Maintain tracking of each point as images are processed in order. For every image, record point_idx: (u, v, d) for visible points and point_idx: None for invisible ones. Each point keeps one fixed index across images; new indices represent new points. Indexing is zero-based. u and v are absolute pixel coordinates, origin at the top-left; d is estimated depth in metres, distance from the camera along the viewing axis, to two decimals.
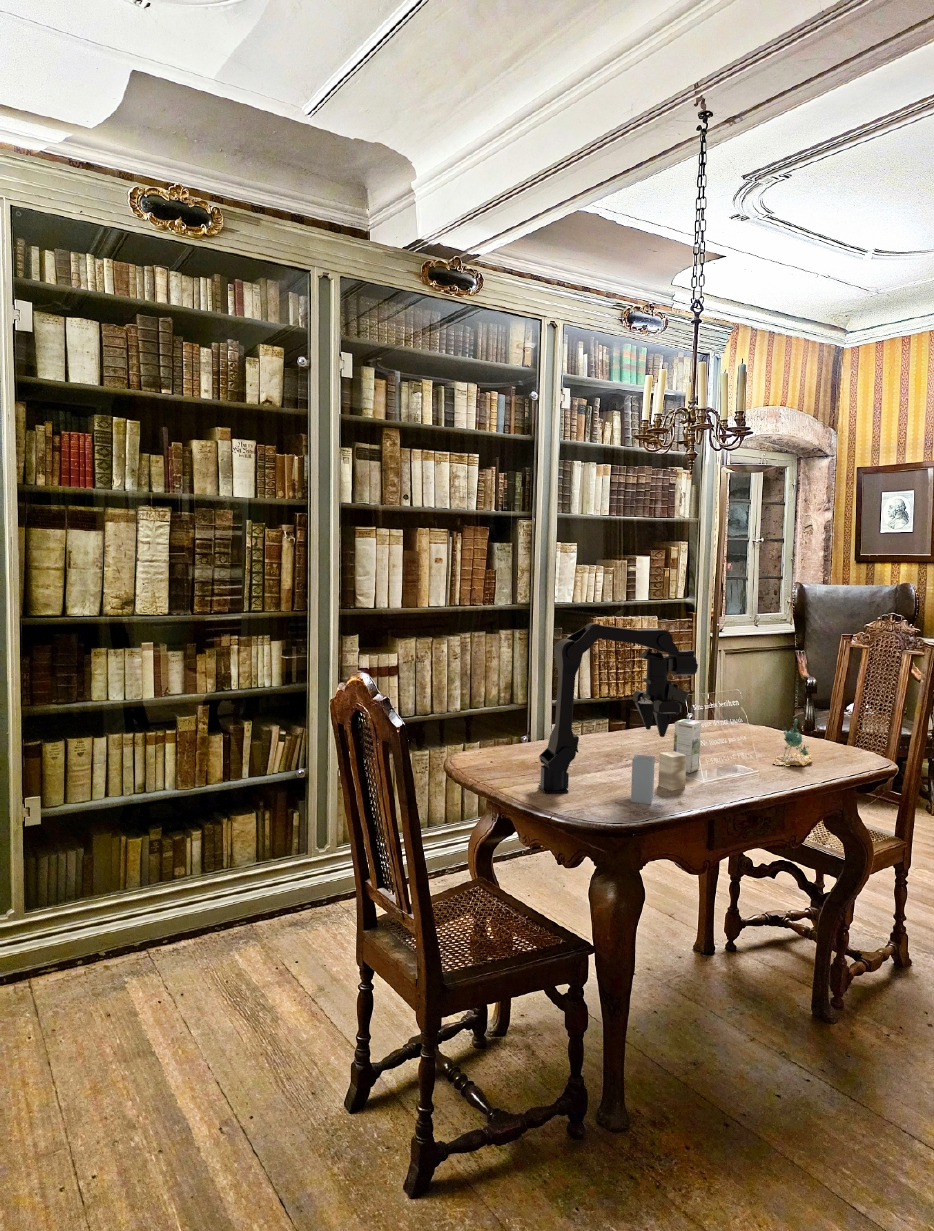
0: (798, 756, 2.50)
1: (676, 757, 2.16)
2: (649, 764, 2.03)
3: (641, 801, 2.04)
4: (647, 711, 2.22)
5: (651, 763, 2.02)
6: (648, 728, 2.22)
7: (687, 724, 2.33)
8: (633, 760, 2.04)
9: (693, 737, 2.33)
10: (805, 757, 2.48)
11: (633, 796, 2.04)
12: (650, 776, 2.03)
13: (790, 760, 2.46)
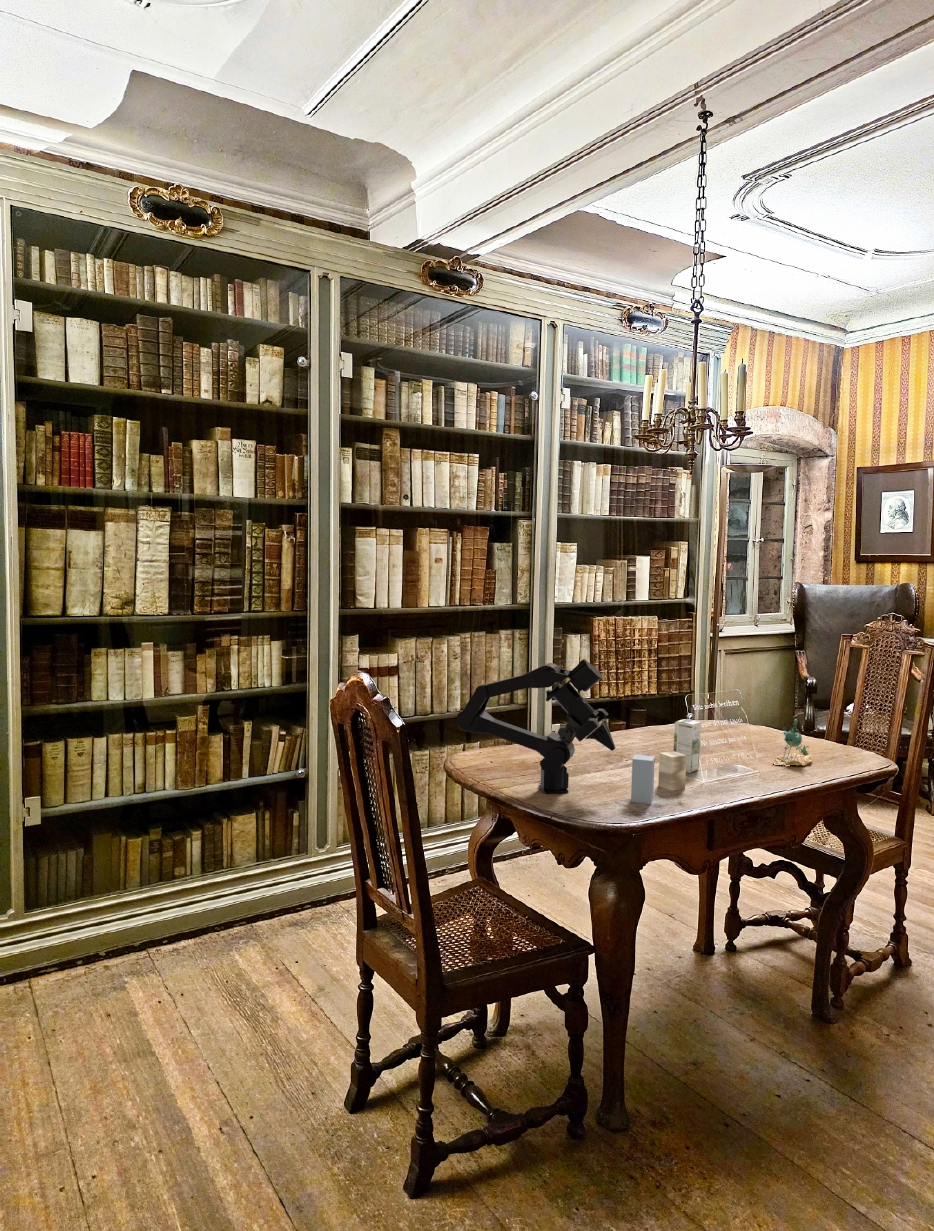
0: (798, 756, 2.50)
1: (676, 757, 2.16)
2: (649, 764, 2.03)
3: (641, 801, 2.04)
4: None
5: (651, 763, 2.02)
6: None
7: (687, 724, 2.33)
8: (633, 760, 2.04)
9: (693, 737, 2.33)
10: (805, 757, 2.48)
11: (633, 796, 2.04)
12: (650, 776, 2.03)
13: (790, 760, 2.46)
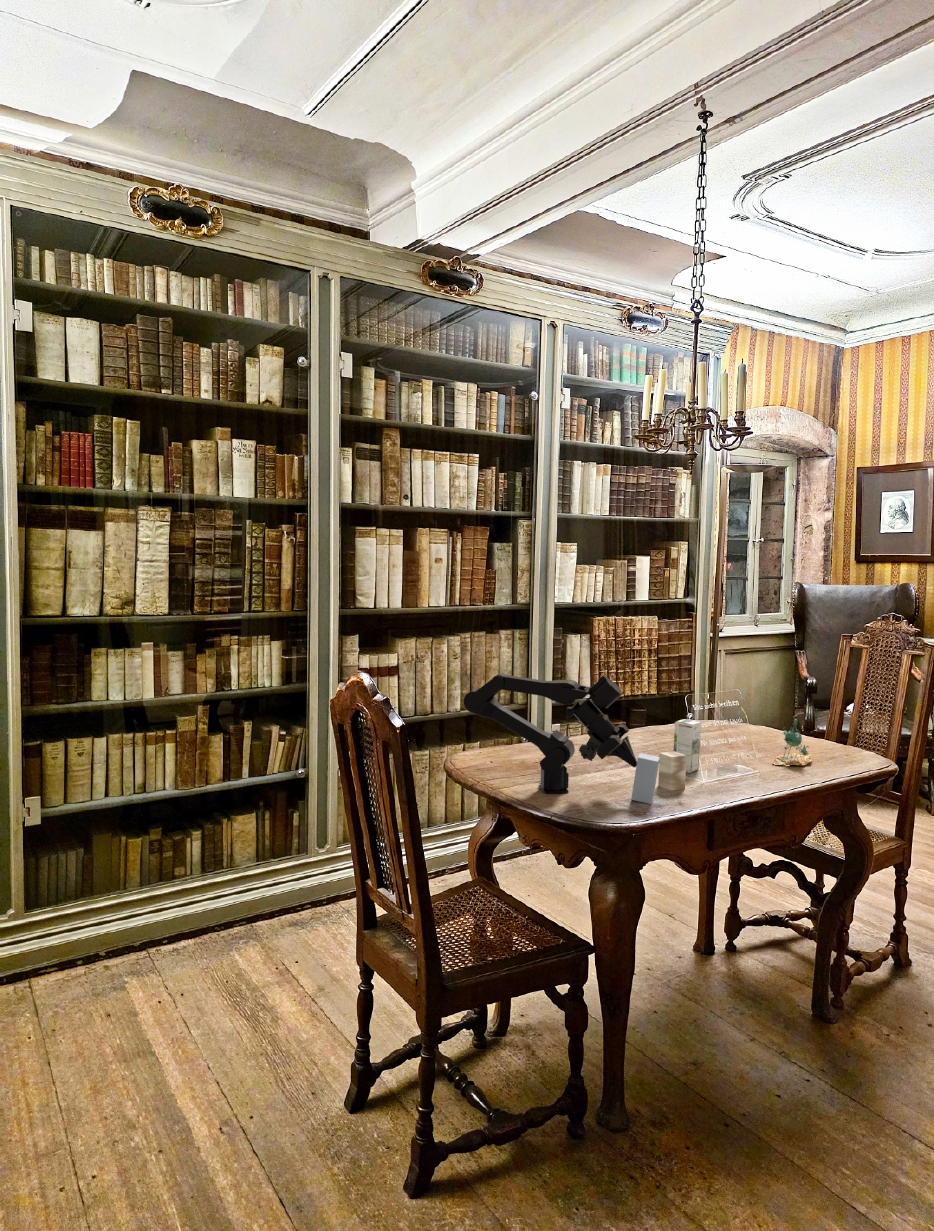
0: (798, 756, 2.50)
1: (676, 757, 2.16)
2: (654, 764, 2.02)
3: (641, 800, 2.04)
4: None
5: (656, 764, 2.02)
6: None
7: (687, 724, 2.33)
8: (638, 759, 2.03)
9: (693, 737, 2.33)
10: (805, 757, 2.48)
11: (634, 795, 2.04)
12: (653, 776, 2.02)
13: (790, 760, 2.46)
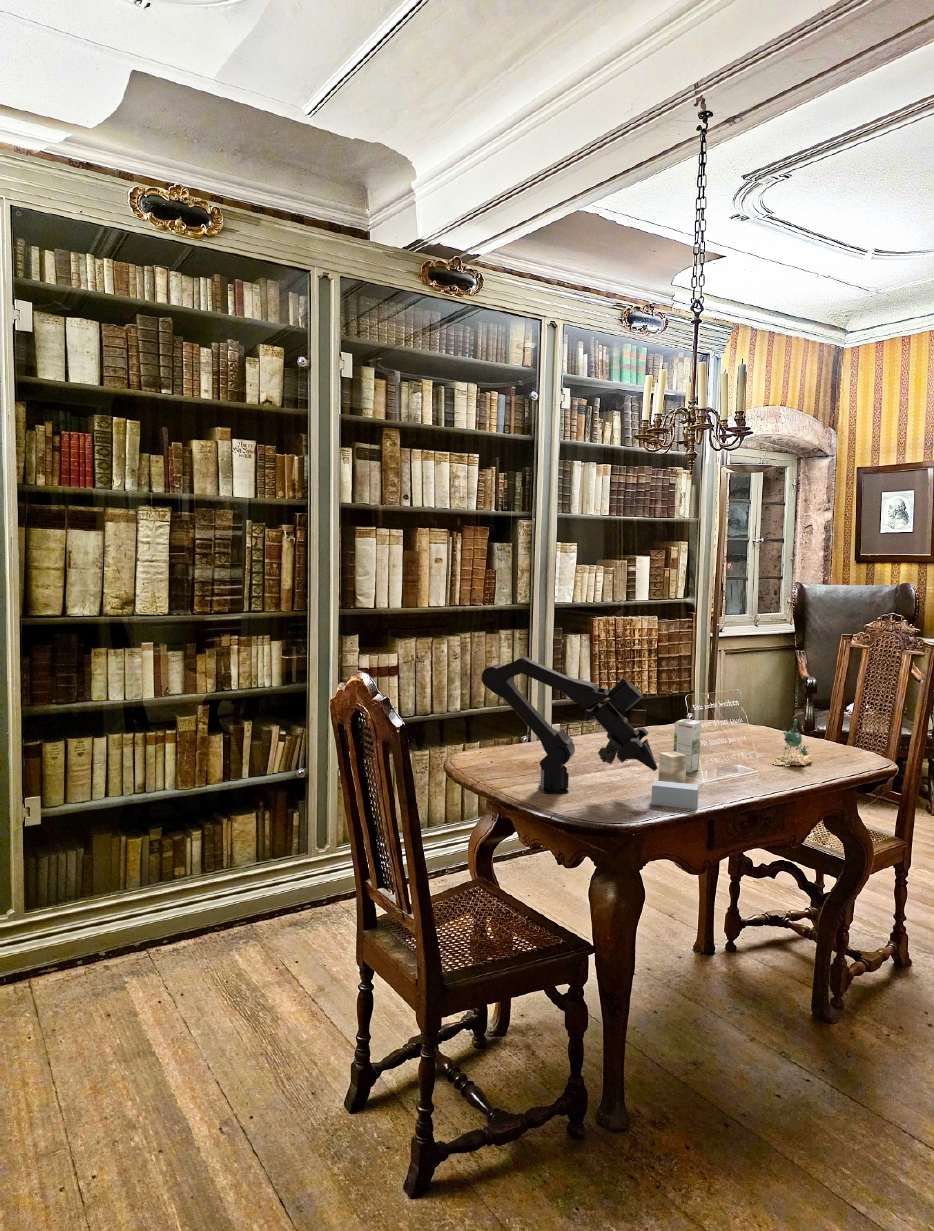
0: (798, 756, 2.50)
1: (676, 757, 2.16)
2: (693, 806, 2.00)
3: (653, 795, 2.03)
4: None
5: (694, 808, 2.00)
6: None
7: (687, 724, 2.33)
8: (696, 791, 1.99)
9: (693, 737, 2.33)
10: (805, 757, 2.48)
11: (657, 788, 2.02)
12: (680, 806, 2.01)
13: (790, 760, 2.46)
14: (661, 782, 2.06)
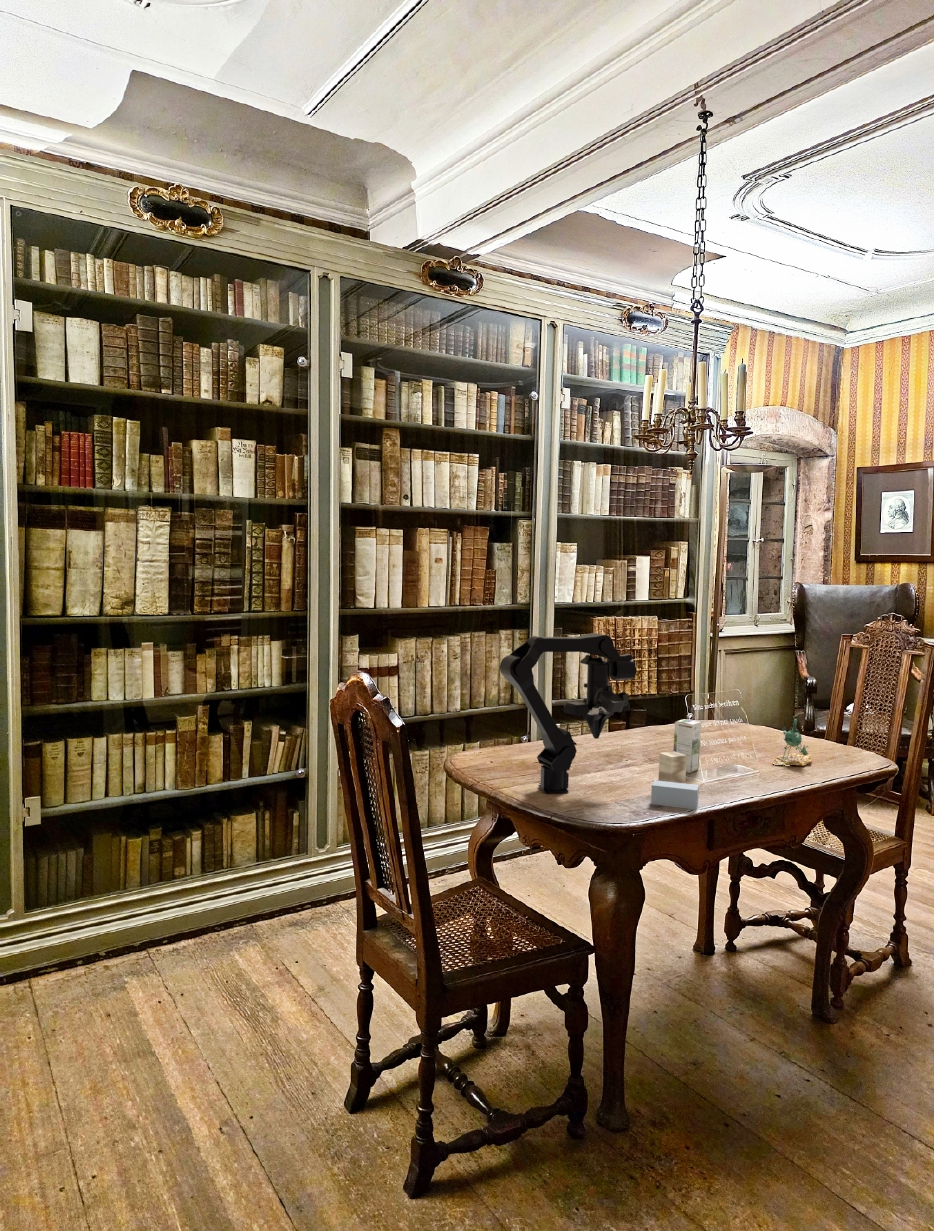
0: (798, 756, 2.50)
1: (676, 757, 2.16)
2: (692, 806, 2.00)
3: (652, 795, 2.03)
4: None
5: (693, 808, 2.00)
6: None
7: (687, 724, 2.33)
8: (695, 791, 1.99)
9: (693, 737, 2.33)
10: (805, 757, 2.48)
11: (657, 788, 2.02)
12: (679, 806, 2.01)
13: (790, 760, 2.46)
14: (661, 782, 2.06)
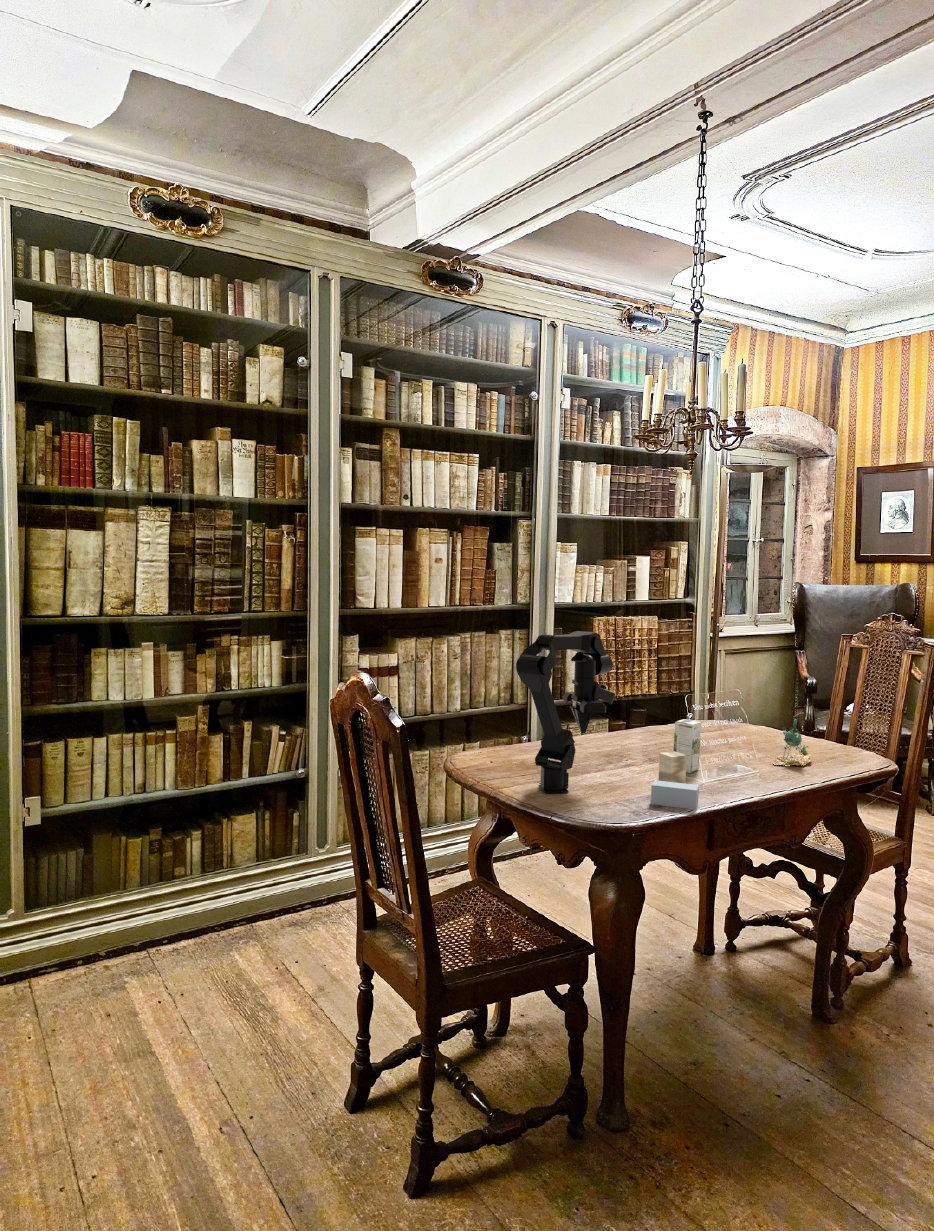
0: (798, 756, 2.50)
1: (676, 757, 2.16)
2: (692, 806, 2.00)
3: (652, 795, 2.03)
4: None
5: (693, 808, 2.00)
6: None
7: (687, 724, 2.33)
8: (695, 791, 1.99)
9: (693, 737, 2.33)
10: (805, 757, 2.48)
11: (656, 788, 2.02)
12: (679, 806, 2.01)
13: (790, 760, 2.46)
14: (661, 782, 2.06)
